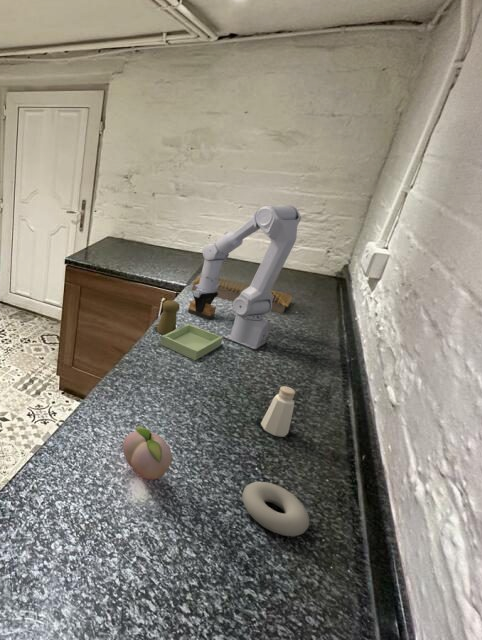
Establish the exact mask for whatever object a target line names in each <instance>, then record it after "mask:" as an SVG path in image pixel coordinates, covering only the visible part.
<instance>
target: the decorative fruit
mask: <svg viewBox="0 0 482 640" xmlns="http://www.w3.org/2000/svg"><path fill="white" fill-rule="evenodd" d="M122 449H123V450H122V451H123V454H124V458H125V460H126V462H127V463H128V465H129V466H130V467H131V468H132V470H133V472H134V473H135V474H136V475H138V476H140V477H141V478H143V479H146V480H157V479H160V478H162V477H163V476H164V475H165V474H166V473H167V472H168V470H169V469H170V468H171V464H172V463H173V462H172V461H173V455H172V451H171V448H170V446H169V445H168V443H167V442H166V441H165V440H164V439H163V437H161V436H160V435H159V434H157V433H155V432H153V431H150V430H149V429H148V428H146V427H144V426H135V430H134V431H132V432H130V433H128V434H127V435H126V436H125V438H124V440H123V442H122Z"/></svg>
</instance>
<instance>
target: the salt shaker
mask: <svg viewBox="0 0 482 640" xmlns="http://www.w3.org/2000/svg"><path fill="white" fill-rule="evenodd" d="M295 395H296V391H295V389H294V388H292V387H289V386H285V385H282V386H280V388H279V392H278V393H277V394H276V395H275V396H274V397H273V399H272V401H271V402H270V405H269V406H268V408H267V410H266V412H265V414H264V416H263V418H262V420H261V422H260V426H261V427H262V429H263V430H264V431H265V432H266V433H268V434H271V435H272V436H275V437H281V438H282V437H283V438H285V437H286V436H287V435H288V434H289V433H290V427H291V423H292V417H293V413H294V408H295V400H294V397H295Z"/></svg>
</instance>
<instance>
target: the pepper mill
mask: <svg viewBox="0 0 482 640" xmlns="http://www.w3.org/2000/svg"><path fill="white" fill-rule="evenodd" d="M179 310H180V304H179V303H178V302H177V301H176V300H171V299H168V300H165V301H164V302H163V303H162V313H161V316H160V318H159V322H158V324H157V327H156V331H157V332H158V333H159V334H161V335H165V334H167V333H170V332H172V331H174V330H176V329H177V328H176V327H177V314H178V312H179Z"/></svg>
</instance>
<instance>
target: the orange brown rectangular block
mask: <svg viewBox="0 0 482 640" xmlns="http://www.w3.org/2000/svg"><path fill="white" fill-rule="evenodd" d="M216 309H217V306H216V305H212V304H211V305H210V304H207V303H206V305H205V307H204V310H203V312H202V313H199V312H197V311H196V307H195V299H193V300H190V301H189V307H188V311H187V313H189V314H192V315H194V316H197V317H200V318H203V319H205V320H207V321H209V320H211V319H214V317H215V313H216Z"/></svg>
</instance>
